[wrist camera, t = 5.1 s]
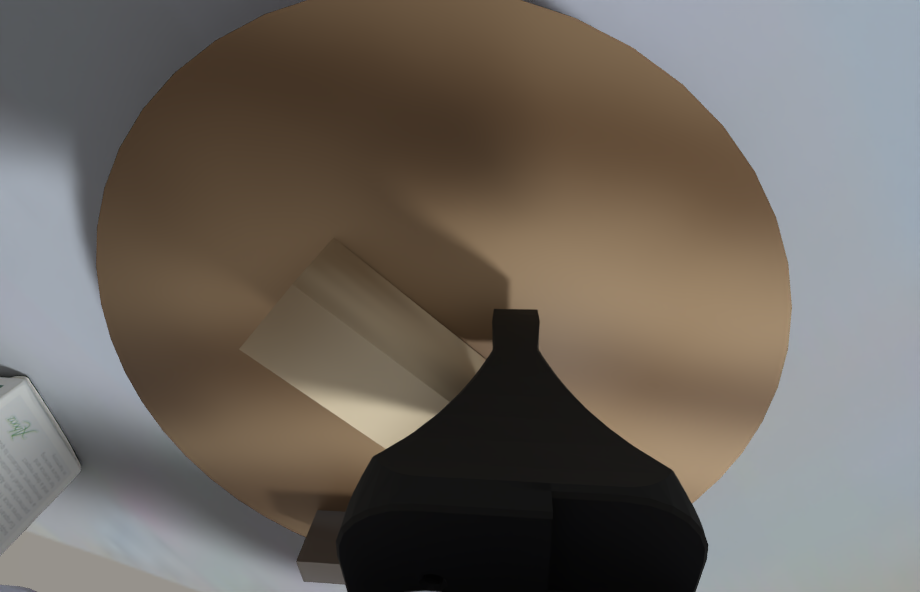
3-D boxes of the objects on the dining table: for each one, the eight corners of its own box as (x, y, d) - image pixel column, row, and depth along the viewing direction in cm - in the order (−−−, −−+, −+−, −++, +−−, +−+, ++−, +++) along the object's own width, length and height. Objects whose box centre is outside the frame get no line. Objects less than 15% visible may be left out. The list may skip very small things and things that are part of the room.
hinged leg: (677, 503, 16) (708, 590, 13) (606, 539, 17) (622, 624, 14) (339, 229, 12) (295, 279, 10) (280, 301, 13) (228, 361, 11)
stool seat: (685, 532, 20) (726, 649, 16) (245, 507, 22) (189, 605, 18) (849, -36, 10) (1047, -78, 7) (41, 20, 13) (-166, 14, 9)
